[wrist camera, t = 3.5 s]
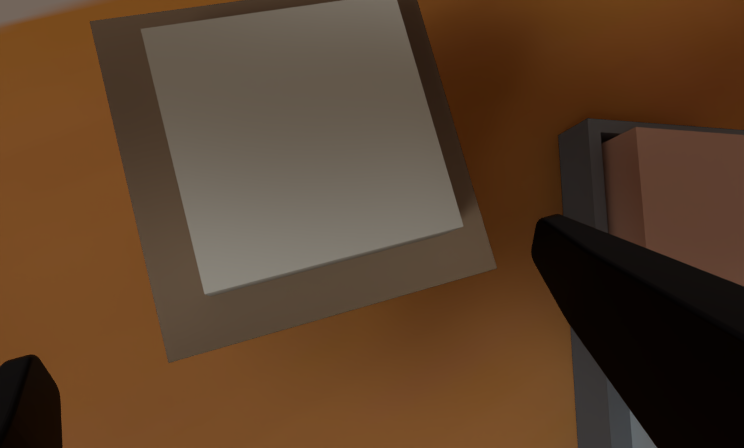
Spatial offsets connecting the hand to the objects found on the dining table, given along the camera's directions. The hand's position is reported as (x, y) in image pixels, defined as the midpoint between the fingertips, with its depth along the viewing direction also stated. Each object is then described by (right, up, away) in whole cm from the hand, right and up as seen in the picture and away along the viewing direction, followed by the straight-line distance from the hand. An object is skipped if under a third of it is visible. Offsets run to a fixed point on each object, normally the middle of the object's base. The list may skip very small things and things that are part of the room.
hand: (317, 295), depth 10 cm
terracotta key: (+12, +1, +11) cm, 17 cm away
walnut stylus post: (-2, 0, +9) cm, 10 cm away
